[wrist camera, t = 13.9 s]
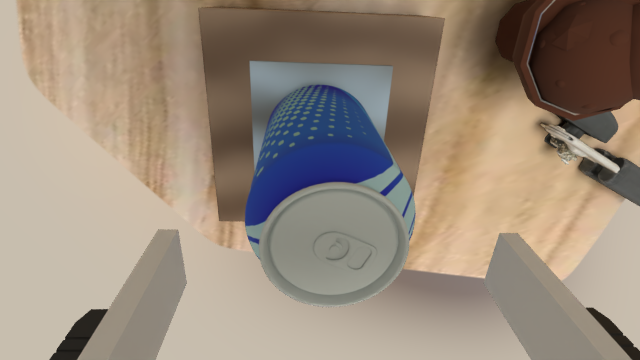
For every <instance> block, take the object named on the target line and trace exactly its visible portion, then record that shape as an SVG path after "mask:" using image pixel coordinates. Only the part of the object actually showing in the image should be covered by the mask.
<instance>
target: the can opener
mask: <svg viewBox="0 0 640 360" xmlns="http://www.w3.org/2000/svg"><path fill="white" fill-rule="evenodd" d="M554 114H555V113H554ZM556 115H557V114H556ZM557 116H558V117H559V118H561V119H562V120H563V121H565V122H566V123H565V124H564V125H563V126H562V127H559V126H558V125H556V126H555V125H551V124H550V125H545V124H543V123H541V126H542V127H544V128H545V130H546V131H547V132H549V134H548V135H547V136H546V137H545V142H547V143H548V144H550V145H551V146H553V147H554V148H557V147H558V149H557V153H558V155H559V156H560V157H561V158H562V159H561V160H562V161H563V162H564V163H565V164H567V165H569V163H568V162H567V160H569V161H570V160H571V159H573V160H574V161H575V160H577V157H575V156H580V157H584V159H583V161H582V163H581V165H580V169H581V171H582V172H583V173H584V174H585V175H587V176H589V177H591V178H592V179H594V180H596V181H598V182H599V183H601V184H603V185H604V186H606V187H608V188H609V189H611V190H613V191H615V192H616V193H618V194H620V195H621V196H623V197H625V198H626V199H628V200H630V201H631V202H633V203H635V204H637V205H639V206H640V167H638V166H636V165H635V164H633V163H632V162H630V161H629V160H627V159H624V158H617V157H615V156H614V155H612V154H610V153H609V152H608V151H605V150H603V149H595V150H594V149H592V148H591V147H589V146H588V145H586V144H585V143H583V142H582V141H580V140H579V138H580V137H581V136H582V135H583V134H587V135H589V136H592V137H594V138H596V139H598V140H600V141H602V142H604V143H607V142H608V141H609V140H610V139H611V138H612V137H613V135H614V134H615V133H616V132H617V130H618V124H617V121H616V119H615V117H614V116H613V114H612V113H611V111H609V112H605V113H602V114H598V115H594V116H590V117H587V118H583V119H579V120H575V121H572V120H569V119H567V118H564V117H562V116H560V115H557Z"/></svg>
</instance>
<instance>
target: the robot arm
mask: <svg viewBox="0 0 640 360" xmlns="http://www.w3.org/2000/svg"><path fill="white" fill-rule="evenodd" d="M186 284H187V281H186V275H185V270H184V263H183V257H182V251H181V245H180V239H179V232H178V230H158V231H157V233H156V234H155V236H154V237H153V239H152V240H151V242H150V244H149V245H148V247H147V248H146V250H145V252H144V253H143V255H142V256H141V258H140V260H139V261H138V263H137V264H136V266H135V268H134V269H133V271H132V273H131V274H130V276H129V278H128V279H127V280H126V282H125V284H124V285H123V287H122V289H121V290H120V292H119V293H118V295H117V297H116V298H115V300H114V302H113V303H112V305H111V306H110V308H109V309H103V310H101V309H96V310H93V309H91V310H90V311H89V312H88V313H86V314H85V315H84V316H83V317H82V318H81V319H79V320H78V321H77V322H76V323H75V324H74V326H73V327H72V328H71V330H70V332H69V333H68V334H67V336H66V337H65V340H63V341H62V343H61V344H60V346H59V347H58V348H57V351H56V353H54V354H53V355H52V357H51V358H50V360H155V359H156V357H157V355H158V352H159V350H160V347H161V345H162V342H163V340H164V337H165V335H166V333H167V330H168V327H169V325H170V323H171V320H172V318H173V315H174V313H175V311H176V308H177V306H178V303H179V301H180V298H181V296H182V293H183V291H184V288H185V286H186ZM484 285H485V287H486V288H487V290H488V292H489V293H490V295H491V296H492V298H493V299H494V301H495V303H496V304H497V306H498V307H499V309H500V311H501V312H502V314H503V315H504V317H505V318H506V320H507V322H508V323H509V325H510V327H511V328H512V330H513V331H514V333H515V335H516V336H517V338H518V339H519V341H520V342H521V344H522V346H523V347H524V349H525V350H526V352H527V354H528V355H529V357H530V358H531V360H640V351H639V350H638V349H637V348H636V347H634V346H633V345H634V344H633V343H632V342H631V341H630V340H629V339H628V338H627V337H626V336H623V333H622V332H621V331H620V330H619V329H618V328H617V326H616V325H615V324H614V323H613V322H612V321H611V320H610V319H608V318H607V317H605V316H604V315H603V314H601V313H600V312H598V311H597V310H595V309H594V308H585V307H584V306H583V305H582V304H581V303H580V302H579V301H578V300H577V298H576V297H575V296H574V295H573V294H572V293H571V292H570V291H569V289H568V288H567V287H566V286H565V285H564V284H563V283H562V282H561V281H560V280H559V278H558V277H557V276H556V275H555V274H554V273H553V272H552V271H551V270H550V269H549V267H548V266H547V265H546V264H545V263H544V262H543V261H542V260H541V259H540V257H539V256H538V255H537V254H536V253H535V252H534V251H533V250H532V249H531V248H530V246H529V245H528V244H527V243H526V242H525V241H524V240H523V239H522V238H521V237H520V235H519V234H518V233H500V234H499V237H498V240H497V243H496V246H495V249H494V252H493V255H492V258H491V262H490V265H489V268H488V271H487V274H486V277H485V280H484Z"/></svg>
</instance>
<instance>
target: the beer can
mask: <svg viewBox="0 0 640 360" xmlns="http://www.w3.org/2000/svg"><path fill="white" fill-rule="evenodd" d="M414 223H415V202H414V197H413V194H412V191H411V188H410V186H409V183H408V181H407V180H406V178H405V176H404V175H403V173H402V171H401V170H400V168H399V166H398V164H397V163H396V161H395V159H394V158H393V156H392V154H391V153H390V151H389V149H388V148H387V146H386V144H385V143H384V141H383V139H382V137H381V136H380V134H379V132H378V131H377V129H376V127H375V126H374V124H373V122H372V121H371V119H370V117H369V115H368V114H367V112H366V110H365V109H364V107H363V106H362V104H361V103H360V102H359V101H358V100H357V99H356V98H355V97H354V96H352V95H351V94H350V93H348V92H346V91H345V90H342V89H340V88H337V87H334V86H330V85H310V86H306V87H302V88H300V89H297V90H295V91H293V92H291V93H290V94H288V95H287V96H286V97H284V98H283V99H282V100H281V101H280V102H279V103H278V104H277V106H276V107H275V109H274V110H273V112H272V114H271V116H270V118H269V121H268V125H267V128H266V132H265V136H264V139H263V143H262V147H261V151H260V154H259V158H258V162H257V165H256V169H255V173H254V177H253V180H252V184H251V188H250V192H249V195H248V199H247V203H246V209H245V227H246V232H247V236H248V239H249V242H250V244H251V246H252V249H253V251H254V252H255V254H256V255H257V257H258V258H259V259H260V261H261V264H262V267H263V269H264V271H265V273H266V275H267V277H268V278H269V280H270V281H271V282H272V283H273V284H274V285H275V287H277V288H278V289H279V290H280V291H281V292H283V293H284V294H285V295H287V296H289V297H290V298H292V299H295V300H297V301H300V302H302V303H305V304H309V305H313V306H320V307H341V306H346V305H351V304H356V303H359V302H362V301H364V300H367V299H369V298H371V297H373V296H375V295H376V294H378V293H380V292H381V291H383V290H384V289H385V288H386V287H388V286H389V285H390V284H391V283H392V282H393V281H394V280H395V278H396V277H397V276H398V275H399V273H400V272H401V270H402V268H403V266H404V264H405V262H406V259H407V256H408V251H409V241H410V238H411V235H412V232H413V229H414Z"/></svg>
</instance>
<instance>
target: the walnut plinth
mask: <svg viewBox="0 0 640 360" xmlns="http://www.w3.org/2000/svg"><path fill="white" fill-rule="evenodd" d="M198 9H199V19H200V29H201V40H202V50H203V60H204V70H205V81H206V91H207V101H208V111H209V121H210V132H211V142H212V152H213V162H214V173H215V183H216V193H217V203H218V213H219V221H245V209H246V203H247V199H248V195H249V192H250V188H251V184H252V180H253V177H254V173H255V169H256V165H257V162H258V158H259V154H260V151H261V147H262V143H263V139H264V136H265V132H266V128H267V125H268V121H269V118H270V116H271V114H272V112H273V110H274V109H275V107H276V106H277V104H278V103H279V102H280V101H281V100H282V99H283V98H284V97H286V96H287V95H288V94H290V93H291V92H293V91H295V90H297V89H300V88H302V87H306V86H310V85H330V86H334V87H337V88H340V89H342V90H345V91H346V92H348V93H350V94H351V95H352V96H354V97H355V98H356V99H357V100H358V101H359V102H360V103H361V104H362V106H363V107H364V109H365V110H366V112H367V114H368V115H369V117H370V119H371V121H372V122H373V124H374V126H375V127H376V129H377V131H378V132H379V134H380V136H381V137H382V139H383V141H384V143H385V144H386V146H387V148H388V149H389V151H390V153H391V154H392V156H393V158H394V159H395V161H396V163H397V164H398V166H399V168H400V170H401V171H402V173H403V175H404V176H405V178H406V180H407V181H408V183H409V186H410V188H411V191H412V194H413V196H414V191H415V185H416V179H417V174H418V168H419V162H420V157H421V151H422V145H423V139H424V134H425V128H426V122H427V117H428V111H429V105H430V100H431V94H432V88H433V83H434V77H435V71H436V66H437V60H438V54H439V49H440V43H441V37H442V32H443V26H444V20H445V18H437V17H429V16H419V15H396V14H373V13H350V12H327V11H304V10H281V9H258V8H235V7H204V8H198Z"/></svg>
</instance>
